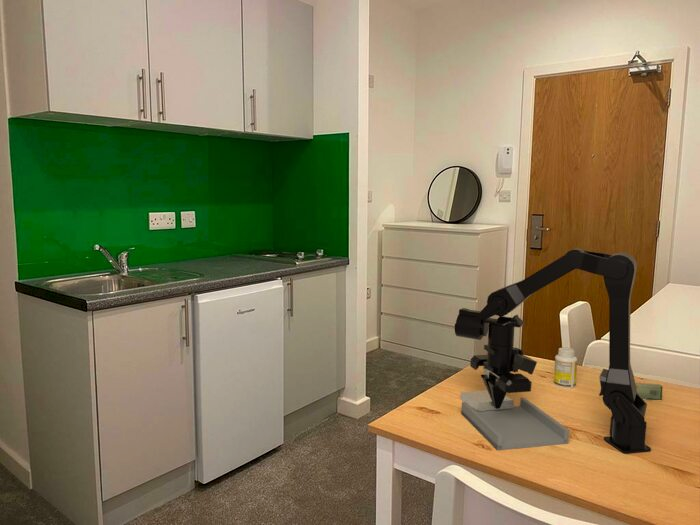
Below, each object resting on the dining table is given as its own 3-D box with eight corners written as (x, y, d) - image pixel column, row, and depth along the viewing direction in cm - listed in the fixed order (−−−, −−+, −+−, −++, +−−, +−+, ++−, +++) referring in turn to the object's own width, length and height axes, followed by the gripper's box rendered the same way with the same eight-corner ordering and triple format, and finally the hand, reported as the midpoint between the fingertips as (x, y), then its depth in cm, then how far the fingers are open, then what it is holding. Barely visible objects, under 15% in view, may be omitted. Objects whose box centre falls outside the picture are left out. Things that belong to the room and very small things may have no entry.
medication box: (658, 399, 138) (659, 383, 138) (662, 402, 135) (663, 386, 135) (608, 395, 139) (609, 379, 139) (612, 397, 137) (613, 382, 137)
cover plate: (513, 408, 127) (513, 399, 127) (478, 411, 125) (478, 402, 125) (493, 397, 137) (493, 389, 137) (460, 400, 135) (460, 392, 135)
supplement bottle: (566, 381, 149) (569, 345, 148) (580, 388, 144) (582, 351, 143) (549, 383, 148) (551, 347, 147) (561, 390, 142) (564, 352, 141)
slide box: (568, 443, 112) (569, 430, 111) (497, 450, 109) (497, 436, 108) (523, 409, 129) (524, 397, 129) (461, 414, 126) (461, 402, 126)
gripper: (555, 353, 116) (551, 422, 118) (512, 331, 134) (509, 391, 136) (508, 355, 113) (504, 426, 115) (470, 333, 132) (468, 394, 134)
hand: (497, 408), depth 125 cm, fingers closed
